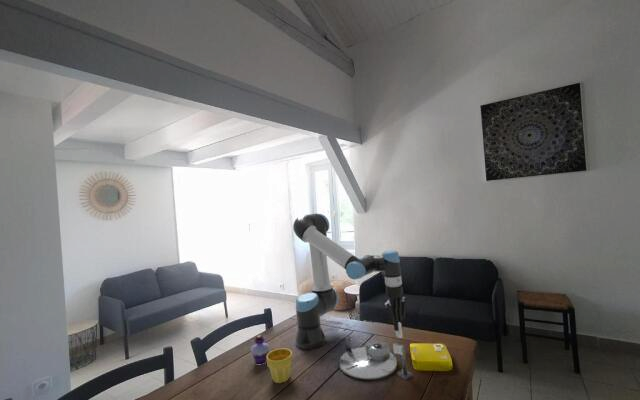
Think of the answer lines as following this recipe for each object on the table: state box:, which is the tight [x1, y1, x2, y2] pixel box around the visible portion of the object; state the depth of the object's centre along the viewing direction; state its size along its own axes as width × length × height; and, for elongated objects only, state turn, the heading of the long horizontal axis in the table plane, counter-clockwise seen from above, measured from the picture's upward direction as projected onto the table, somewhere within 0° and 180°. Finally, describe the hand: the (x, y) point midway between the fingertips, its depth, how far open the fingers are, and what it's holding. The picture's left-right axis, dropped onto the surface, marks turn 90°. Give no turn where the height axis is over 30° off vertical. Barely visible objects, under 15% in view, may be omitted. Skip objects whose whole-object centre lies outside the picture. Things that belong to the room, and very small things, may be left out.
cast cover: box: [365, 340, 391, 362], centre depth 127 cm, size 10×10×4 cm
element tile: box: [409, 342, 453, 372], centre depth 123 cm, size 15×15×5 cm
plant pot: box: [266, 347, 293, 384], centre depth 119 cm, size 10×10×10 cm
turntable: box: [338, 336, 398, 381], centre depth 125 cm, size 27×24×6 cm
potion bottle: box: [249, 334, 270, 365], centre depth 134 cm, size 9×9×12 cm
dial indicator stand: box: [392, 342, 414, 381], centre depth 115 cm, size 5×4×12 cm
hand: (399, 336), depth 134 cm, fingers closed
